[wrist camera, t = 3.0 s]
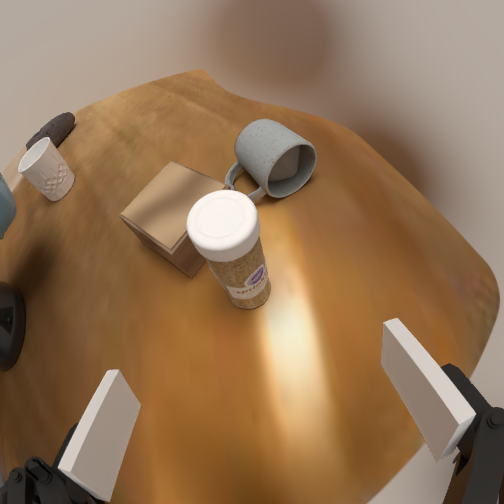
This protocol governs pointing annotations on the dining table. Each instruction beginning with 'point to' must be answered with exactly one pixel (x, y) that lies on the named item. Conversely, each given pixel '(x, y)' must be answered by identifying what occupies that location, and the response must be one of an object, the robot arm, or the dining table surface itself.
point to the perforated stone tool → (54, 130)
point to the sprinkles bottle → (231, 245)
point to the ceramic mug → (272, 159)
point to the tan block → (170, 214)
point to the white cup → (47, 170)
